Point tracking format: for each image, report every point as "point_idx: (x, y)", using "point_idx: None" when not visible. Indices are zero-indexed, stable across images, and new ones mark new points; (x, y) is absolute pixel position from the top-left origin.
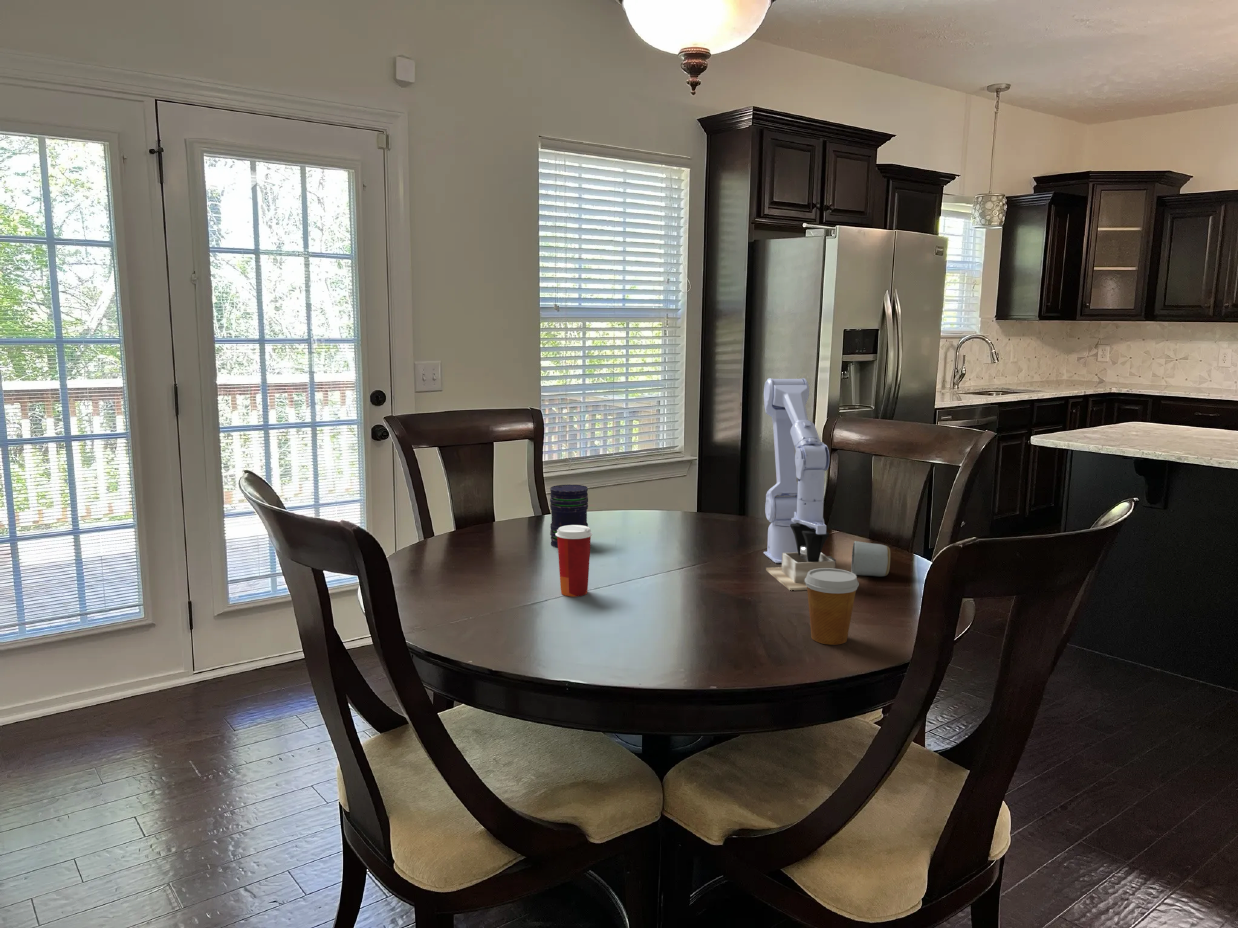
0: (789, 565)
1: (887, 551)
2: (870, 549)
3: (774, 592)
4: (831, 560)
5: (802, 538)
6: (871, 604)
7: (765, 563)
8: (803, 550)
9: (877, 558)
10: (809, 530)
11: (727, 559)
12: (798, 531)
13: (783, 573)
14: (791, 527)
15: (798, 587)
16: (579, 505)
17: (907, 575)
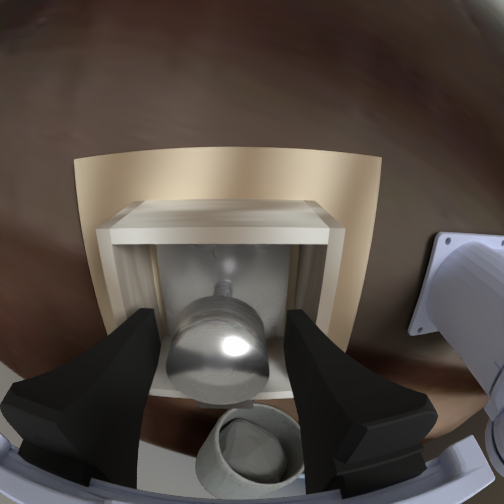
0: (203, 214)
1: (209, 492)
2: (218, 484)
3: (69, 97)
4: (160, 391)
5: (308, 394)
6: (14, 333)
7: (448, 197)
8: (187, 333)
9: (200, 470)
10: (310, 463)
11: (497, 99)
12: (326, 418)
13: (282, 197)
14: (404, 399)
15: (78, 195)
16: None
17: None
